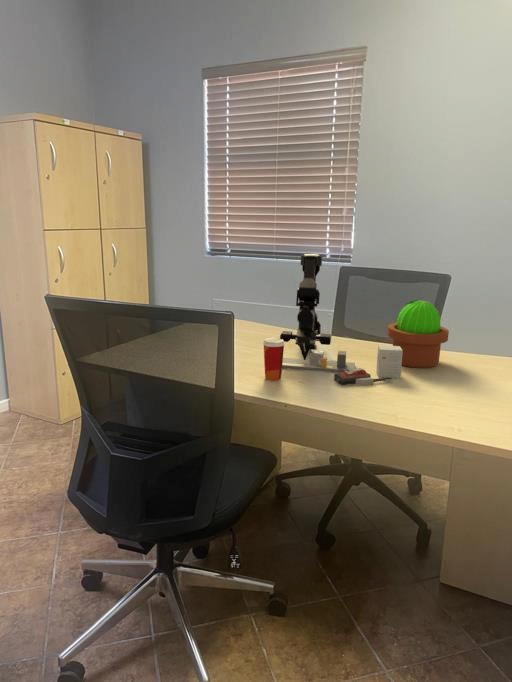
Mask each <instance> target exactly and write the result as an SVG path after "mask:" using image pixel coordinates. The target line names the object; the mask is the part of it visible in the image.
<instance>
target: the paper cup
mask: <svg viewBox="0 0 512 682" xmlns="http://www.w3.org/2000/svg"><path fill="white" fill-rule="evenodd" d="M285 345H286V343H285V342H284V340H283V339H282V340H281V339H280V337H279V338H277V337H268V338H265V339H264V340H263V342H262V346H263V361H264V364H263V365H264V378H265V380H266V381H269V382H277V381H281V379H282V375H283V374H282V372H283V369H282V363H283V358H284V349H285V348H284V347H285Z"/></svg>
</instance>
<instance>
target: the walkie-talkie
mask: <svg viewBox="0 0 512 682" xmlns="http://www.w3.org/2000/svg"><path fill="white" fill-rule="evenodd" d="M333 373H334V374H333V381H334V382H335V383H337V384H339V385H340V386H351V385H356V386H368V385H374V383H377V382H385V381H387V380H388V381H390V380H392V379H393V378H391V377H388V378H381V377H378V378H373V377H372V376H371V374H370V373H368V372H367V371H366V370H365V369H364V368H362V367H357V368H356V367H355V369H351V370H350V371H349V372H348V371H344V372H341V373H336V372H333Z"/></svg>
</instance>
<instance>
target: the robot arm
mask: <svg viewBox="0 0 512 682" xmlns="http://www.w3.org/2000/svg"><path fill="white" fill-rule="evenodd" d="M322 263H323V256H322V255H321V256H320V254H313V253H311V254H310V253H309V254H307V253H304V254H303V255H300V266H302V270H301V271H302V272H303V279H302V280H301V281H300V282H299V286H298V287H299V288H297V290H296V301H295V306H296V307H299V310H298V313H297V322H298V329H297V330H296V333H297V334H294V333H293V331H292V330H291V331H289V330H286V331H285V330H283V331H282V332H281V334H280V336H279V339H281V340H282V339H283V340H284V343H285V342H286V343H289V342H290V341H291V340H295V345H297V346H298V347H299V350H300V353H301V355H302V359H304V360H306V359H307V357H308V354H309V353H310V352H309V351H311V350H317V349H316V348H317V344H316V342H319V343H320V345H323V346H324V345H325V346H329V345H331V343H332V335H331V334H330V333H321V325H322V324H321V323H320V320H318V319H319V317H318V314H317V312H316V307H318V305H319V304H320V297H321V296H320V294H321V293H320V291H319V289H317V282H316V279H317V275H318V274H319V272H320V269H321V267H322V265H323V264H322Z"/></svg>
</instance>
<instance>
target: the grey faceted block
mask: <svg viewBox="0 0 512 682" xmlns="http://www.w3.org/2000/svg"><path fill="white" fill-rule="evenodd" d="M309 351H310V352H309V359H310V363H309V365H321V357H325V356H324V354H325V350H323V349H315V350H311V349H310V350H309Z"/></svg>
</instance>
